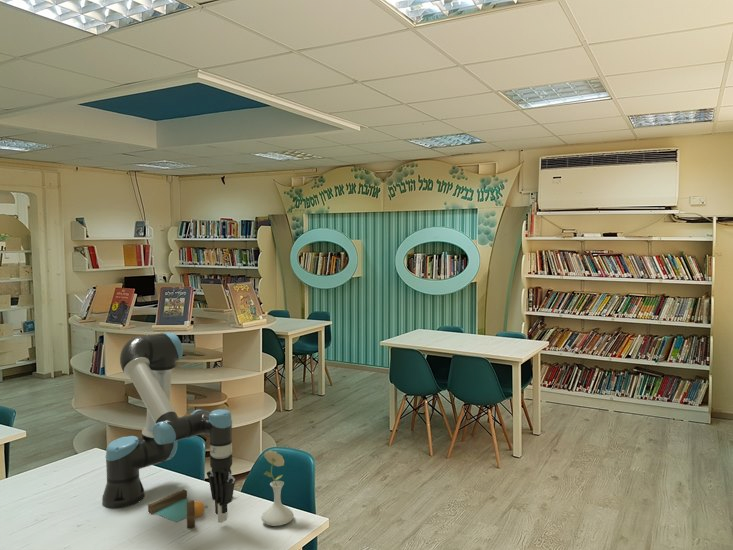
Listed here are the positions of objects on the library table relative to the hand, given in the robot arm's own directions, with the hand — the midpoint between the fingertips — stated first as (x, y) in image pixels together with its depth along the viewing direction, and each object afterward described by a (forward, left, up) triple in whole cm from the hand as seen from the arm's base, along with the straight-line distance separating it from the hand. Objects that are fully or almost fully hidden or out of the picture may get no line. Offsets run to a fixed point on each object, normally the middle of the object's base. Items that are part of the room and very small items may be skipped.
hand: (222, 520), depth 194 cm
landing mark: (-23, 0, -2) cm, 23 cm away
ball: (-13, 0, +1) cm, 13 cm away
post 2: (-9, +6, -2) cm, 11 cm away
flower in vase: (+13, +14, -2) cm, 19 cm away
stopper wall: (-30, 0, -2) cm, 30 cm away
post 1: (-9, -6, -2) cm, 11 cm away
